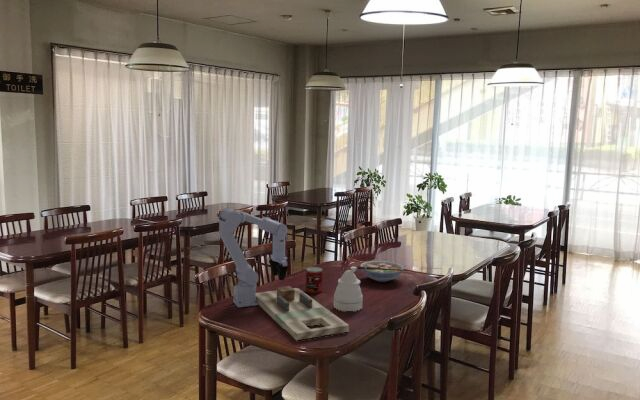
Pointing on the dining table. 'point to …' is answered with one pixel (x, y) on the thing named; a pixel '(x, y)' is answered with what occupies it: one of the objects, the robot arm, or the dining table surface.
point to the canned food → (314, 280)
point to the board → (300, 315)
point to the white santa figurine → (348, 292)
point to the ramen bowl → (381, 270)
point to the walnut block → (286, 292)
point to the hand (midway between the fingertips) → (278, 277)
